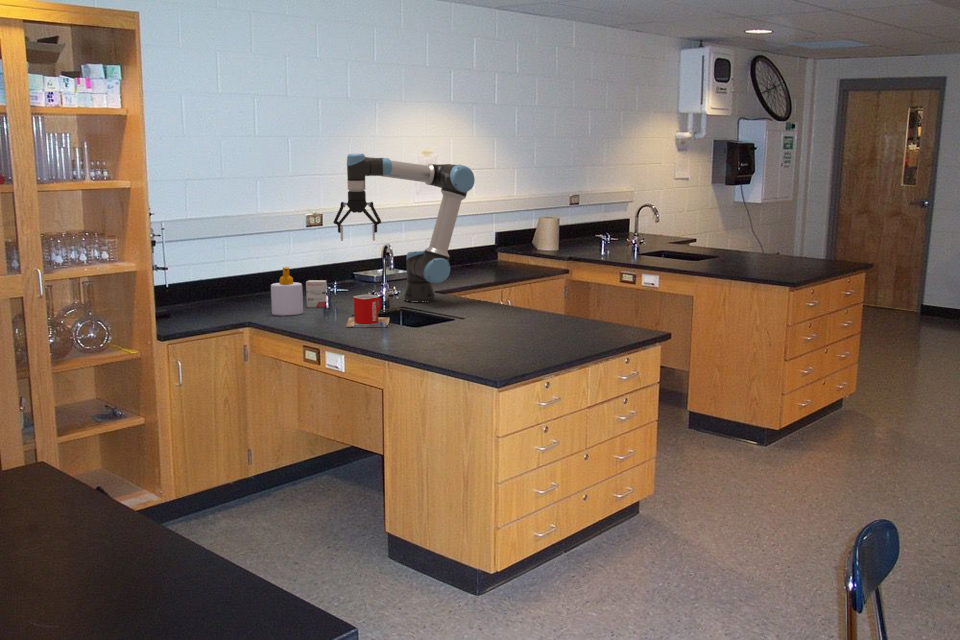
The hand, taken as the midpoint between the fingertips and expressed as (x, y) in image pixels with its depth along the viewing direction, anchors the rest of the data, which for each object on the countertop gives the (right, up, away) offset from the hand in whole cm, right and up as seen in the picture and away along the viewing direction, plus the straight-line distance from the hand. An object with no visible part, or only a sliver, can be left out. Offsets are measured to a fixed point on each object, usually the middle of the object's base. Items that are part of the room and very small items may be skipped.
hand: (357, 240), depth 402 cm
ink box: (-21, -28, +20) cm, 41 cm away
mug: (+7, -35, -14) cm, 39 cm away
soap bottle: (-31, -32, +4) cm, 44 cm away
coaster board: (+6, -36, -15) cm, 39 cm away
